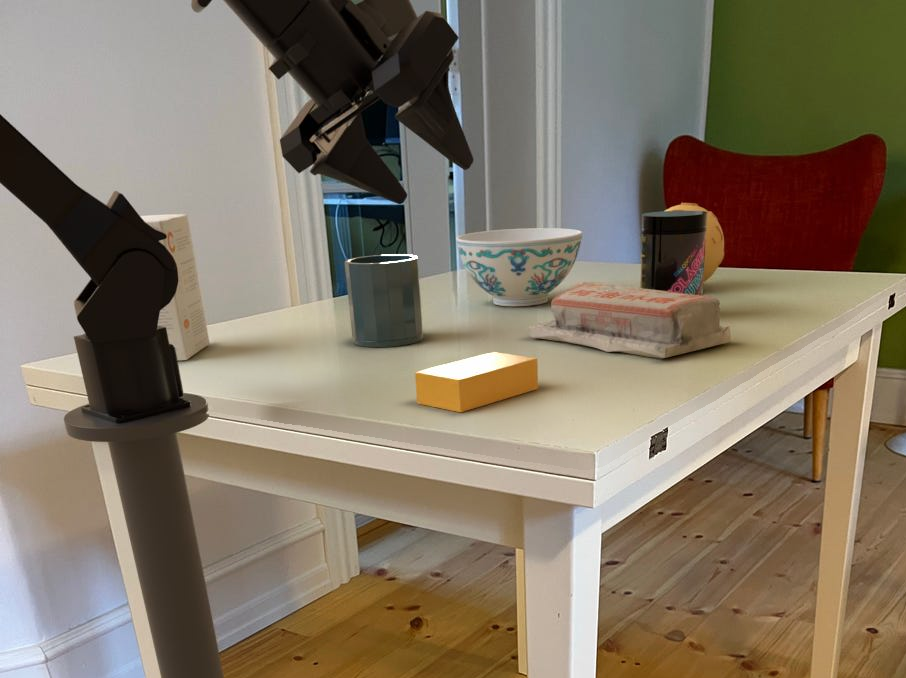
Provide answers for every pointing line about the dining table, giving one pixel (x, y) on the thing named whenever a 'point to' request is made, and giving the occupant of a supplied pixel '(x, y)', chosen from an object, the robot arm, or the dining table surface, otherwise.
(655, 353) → the packaged product
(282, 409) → the dining table surface
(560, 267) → the chinaware
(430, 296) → the dining table surface
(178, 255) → the small box
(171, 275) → the robot arm
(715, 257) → the stress ball
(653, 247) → the supplement container
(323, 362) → the dining table surface
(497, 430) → the dining table surface
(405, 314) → the cup
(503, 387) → the orange flat block
